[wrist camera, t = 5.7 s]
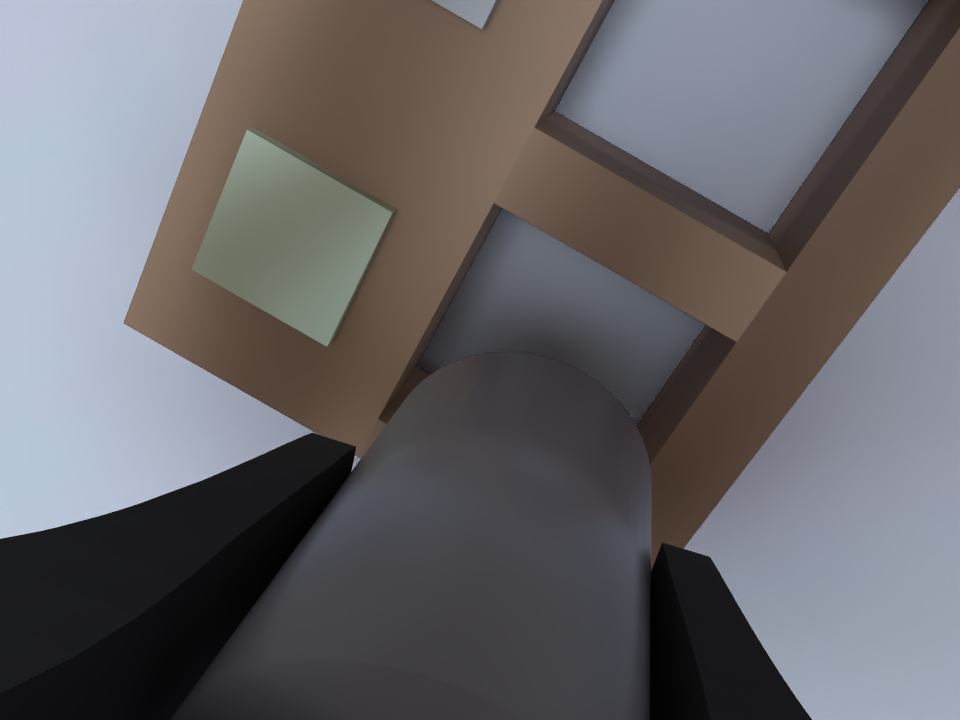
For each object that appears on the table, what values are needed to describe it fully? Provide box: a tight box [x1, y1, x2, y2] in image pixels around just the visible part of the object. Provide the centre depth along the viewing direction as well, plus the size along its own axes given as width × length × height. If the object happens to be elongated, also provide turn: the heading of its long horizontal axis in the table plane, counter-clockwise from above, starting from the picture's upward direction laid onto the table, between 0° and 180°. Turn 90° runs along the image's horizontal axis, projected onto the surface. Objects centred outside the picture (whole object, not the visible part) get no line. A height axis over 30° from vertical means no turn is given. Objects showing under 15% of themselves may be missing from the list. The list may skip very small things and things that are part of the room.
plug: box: [170, 351, 652, 720], centre depth 10 cm, size 4×4×8 cm
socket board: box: [124, 0, 960, 570], centre depth 16 cm, size 12×20×3 cm, turn 152°
